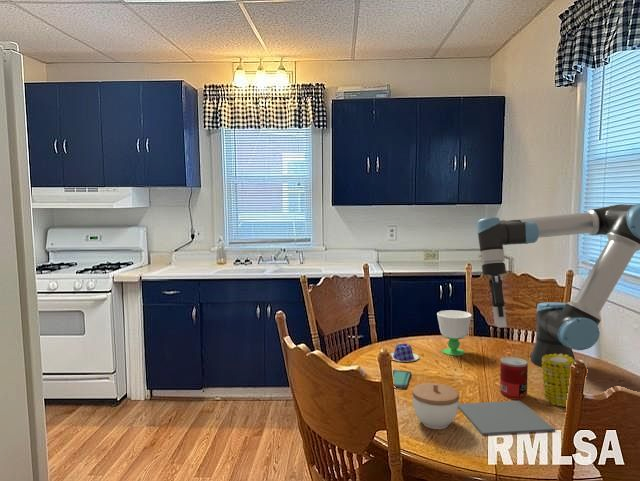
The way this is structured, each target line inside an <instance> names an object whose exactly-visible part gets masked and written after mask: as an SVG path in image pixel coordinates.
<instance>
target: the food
mask: <svg viewBox="0 0 640 481" xmlns="http://www.w3.org/2000/svg"><path fill="white" fill-rule="evenodd" d="M574 362H575V363H577V362H576V359H575V360H574V359H573V358H572V357H569V355H566V354H565V355H563V354H553V355H552V354H549V355H545V356H543V357H542V366H541V369H542V380H543V381H542V383H543V389H544V399H545V400H546V402H548V403H551V405H552V406H555V405H556V406H557V407H564V408H566V400H567V393H568V386H569V378H570V366H571V364H572V363H574Z"/></svg>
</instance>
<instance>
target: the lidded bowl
mask: <svg viewBox="0 0 640 481" xmlns="http://www.w3.org/2000/svg"><path fill="white" fill-rule="evenodd" d="M411 392H412V394H411V395H412V404H413V410H414V412H415V415H416V417H417V418H418V420H419V421H421V424H422V425H423V426H424V427H427V428H429V429H432V430H443V429H444V430H445V429H447V428H448V427H449V425H450V424H452V423H453V421H454V420H455V418H456V417H457V414H458V410H459V408H458V404H460V403H459V402H460V401H459V400H460V392H459V391H458V389H456V388H454V387H453V386H450V385H447V384H443V383H438V382H423V383H419V384H417V385H415V386H413V388H412V390H411Z"/></svg>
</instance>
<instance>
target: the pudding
mask: <svg viewBox="0 0 640 481" xmlns="http://www.w3.org/2000/svg"><path fill="white" fill-rule="evenodd" d="M391 355H392V357H393V359H392V360H393V361H397V362H401V363H402V362H408V363H409V362H414V361H417V360H419V358H420V356H419V355H418V354H416V353H414V352H413V348H412V346H411V345H410V344H408V343H398V344H396V345H395V348H394V351H393V352H391Z"/></svg>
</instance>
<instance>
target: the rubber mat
mask: <svg viewBox="0 0 640 481" xmlns="http://www.w3.org/2000/svg"><path fill="white" fill-rule="evenodd" d="M458 410H459V411H460V412H461V413H462V414H463V415H464V416H465V418H466V419H467V420H468V421H469V422H470V423H471V424H472V425H473V426H474V427H475V428H476V430H477V431H478V432H479V433H480V434H481V435H482V436H490V435H491V436H492V435H509V434H510V435H511V434H526V433H542V432H543V433H544V432H545V433H546V432H555V431H556V429H555V427H553V426H552V425H551V424H550V423H549V422H547V421H546V420H545V419H543V418H542V417H541V416H540V415H539V414H537V413H536V412H535V411H534V410H533V409H531V408H530V407H529V406H527V405H526V404H525V403H524V402H523V401H522V400H509V401H508V400H504V401H489V402H488V401H485V402H466V403H458Z"/></svg>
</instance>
